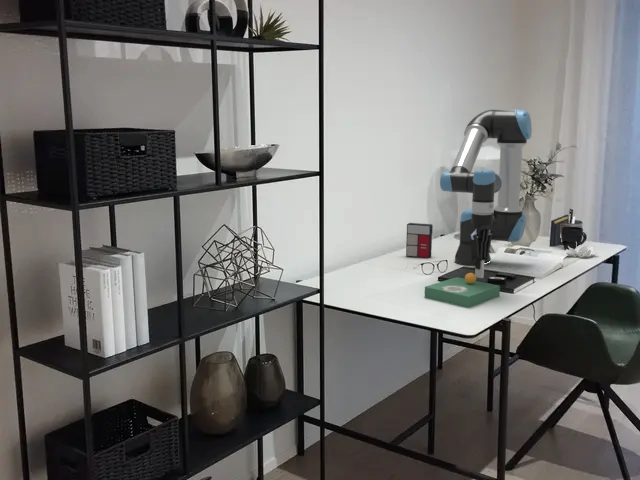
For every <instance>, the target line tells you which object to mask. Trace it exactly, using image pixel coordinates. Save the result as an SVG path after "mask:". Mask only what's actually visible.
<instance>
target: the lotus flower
mask: <svg viewBox="0 0 640 480" xmlns="http://www.w3.org/2000/svg"><path fill="white" fill-rule="evenodd" d="M575 243H576V245H575V248H572V247H570V246H569V245H567V247H568V249H567V248H566V253H565V254H566V255H567V256H568V255H569V256H568V257H574V258H578V259H585V258H587V259H588V258H591V257H593V256H595V255H597V254H598V252H595V253H594V250H595V249H594V246H591V247H589V246H588V243H587V242H586V241H584V242H583V243H582V244H580V245H578V243H577V241H575ZM577 245H578V246H577ZM593 253H594V254H593Z"/></svg>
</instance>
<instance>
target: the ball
mask: <svg viewBox="0 0 640 480" xmlns="http://www.w3.org/2000/svg"><path fill="white" fill-rule="evenodd" d="M464 279H465V281H466V282H467V283H468V284H473V283H474V282H475V281H477V277H476V276H475V273H473V272H469V273H466V274H465V275H464Z"/></svg>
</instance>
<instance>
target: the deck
mask: <svg viewBox="0 0 640 480" xmlns="http://www.w3.org/2000/svg"><path fill="white" fill-rule="evenodd" d="M500 290H501V285H498V284H492V283H488V282H483V281H478V280H476V281H475V282H474V283H473V284H468V283H467V282H466V281H465V277H463V278H462V277H459V276H456V277H453V278H449V279H446V280H442V281H438V282H437V283H433V284H430V285H426V286H424V298H427V299H431V300H434V301H438V302H443V303H447V304H451V305H455V306H460V307H463V308H472V307H474V306H477V305H480V304H483V303H485V302H487V301H490V300H493V299H495V298H496V299H497V298H498V297H500V294H501V293H500V292H501V291H500Z"/></svg>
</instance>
